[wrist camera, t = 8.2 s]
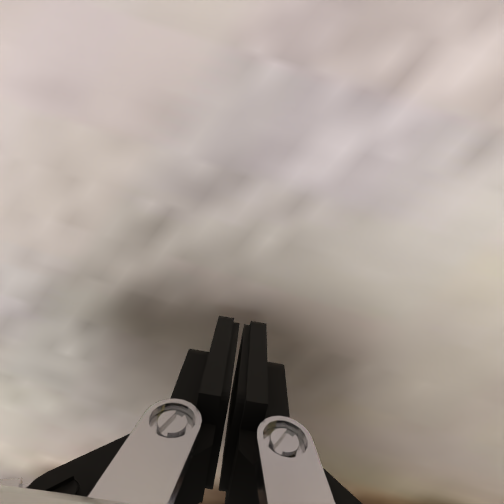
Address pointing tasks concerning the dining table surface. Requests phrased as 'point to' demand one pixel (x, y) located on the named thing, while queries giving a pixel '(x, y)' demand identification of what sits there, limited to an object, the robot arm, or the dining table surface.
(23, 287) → the dining table surface
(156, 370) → the dining table surface
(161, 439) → the robot arm
